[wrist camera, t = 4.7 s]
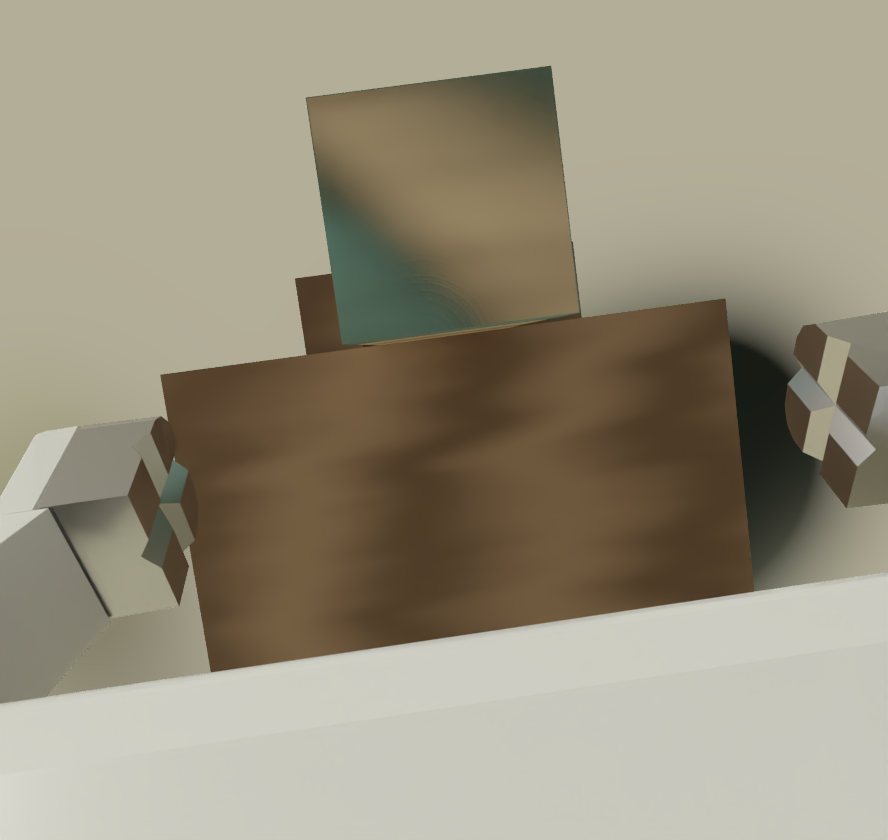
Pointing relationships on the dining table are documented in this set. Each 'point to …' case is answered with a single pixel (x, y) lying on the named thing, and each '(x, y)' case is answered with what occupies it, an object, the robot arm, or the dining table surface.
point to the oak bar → (444, 206)
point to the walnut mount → (460, 480)
